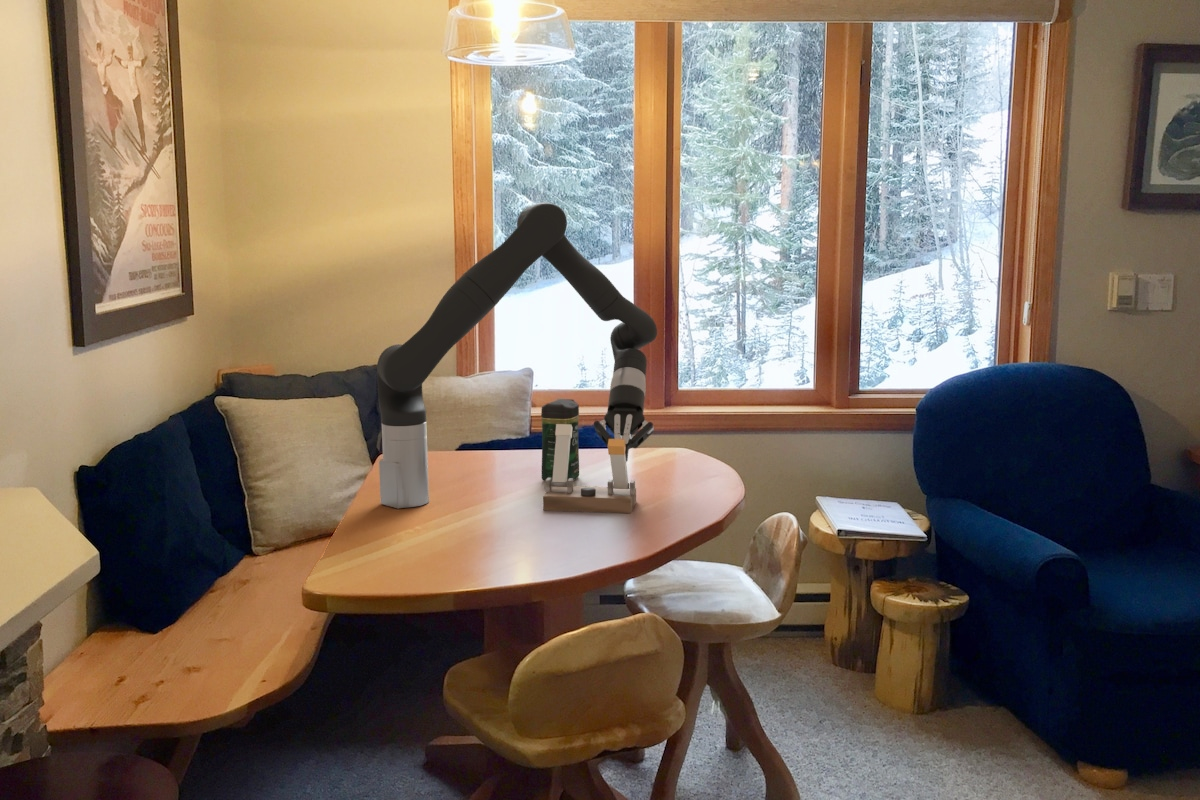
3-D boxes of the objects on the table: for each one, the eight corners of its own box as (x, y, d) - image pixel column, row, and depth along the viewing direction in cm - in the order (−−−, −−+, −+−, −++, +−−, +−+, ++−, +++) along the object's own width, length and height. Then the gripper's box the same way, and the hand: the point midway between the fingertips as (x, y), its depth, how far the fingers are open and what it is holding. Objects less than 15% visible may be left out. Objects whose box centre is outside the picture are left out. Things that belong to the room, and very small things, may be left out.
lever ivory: (552, 487, 219) (557, 427, 223) (567, 488, 218) (572, 427, 223) (550, 485, 217) (556, 424, 221) (565, 485, 216) (571, 424, 221)
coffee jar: (570, 485, 235) (569, 403, 232) (537, 483, 237) (536, 402, 234) (584, 476, 244) (583, 397, 241) (551, 473, 246) (550, 395, 243)
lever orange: (614, 483, 217) (608, 438, 208) (629, 484, 216) (624, 439, 207) (613, 491, 215) (607, 446, 206) (628, 491, 215) (623, 446, 206)
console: (551, 499, 223) (550, 473, 222) (637, 501, 220) (637, 476, 219) (542, 510, 214) (542, 484, 213) (631, 513, 211) (631, 486, 211)
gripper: (594, 382, 220) (585, 452, 210) (657, 383, 218) (651, 453, 208) (598, 403, 226) (589, 471, 216) (659, 404, 224) (653, 473, 214)
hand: (619, 462), depth 212 cm, fingers closed
